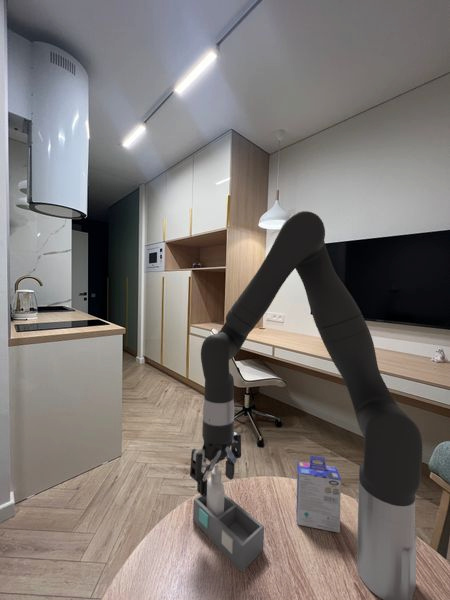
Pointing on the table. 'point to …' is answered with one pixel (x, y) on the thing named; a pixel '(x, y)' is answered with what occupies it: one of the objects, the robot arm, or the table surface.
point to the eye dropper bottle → (215, 493)
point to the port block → (231, 531)
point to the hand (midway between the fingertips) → (216, 485)
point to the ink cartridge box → (318, 495)
